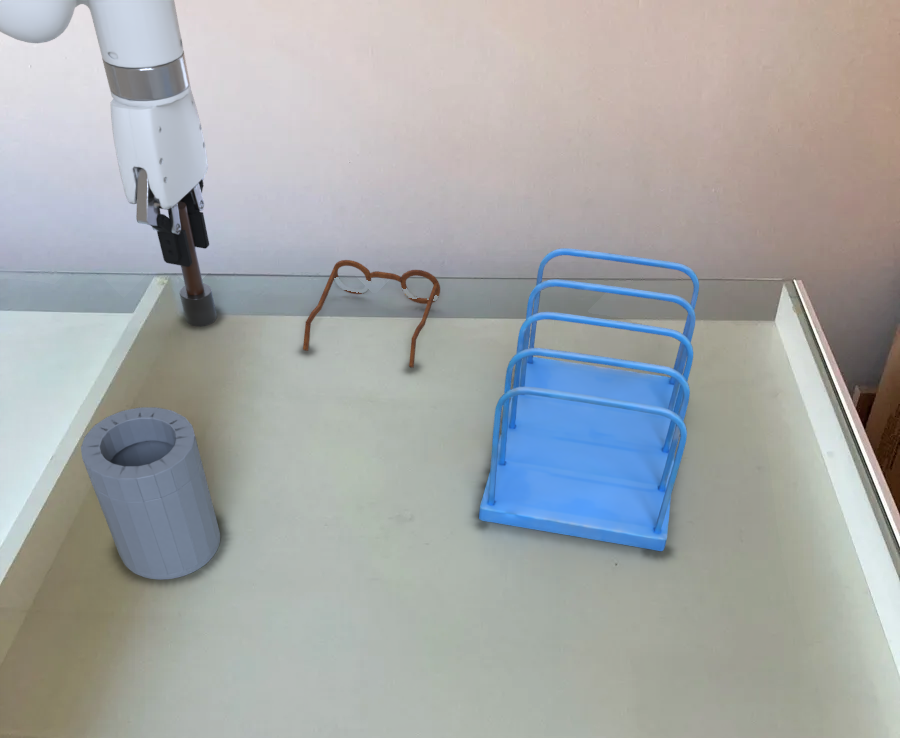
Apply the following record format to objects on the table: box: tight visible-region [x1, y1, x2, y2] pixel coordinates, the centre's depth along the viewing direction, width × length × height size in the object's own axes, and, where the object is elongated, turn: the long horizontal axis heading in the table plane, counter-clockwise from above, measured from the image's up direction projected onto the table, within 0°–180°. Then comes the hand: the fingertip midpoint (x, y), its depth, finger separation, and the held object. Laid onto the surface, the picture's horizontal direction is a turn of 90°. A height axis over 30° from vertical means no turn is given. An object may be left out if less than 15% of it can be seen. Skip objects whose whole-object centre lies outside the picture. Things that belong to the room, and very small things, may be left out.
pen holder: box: [80, 406, 221, 580], centre depth 79 cm, size 9×9×12 cm
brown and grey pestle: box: [177, 202, 218, 327], centre depth 102 cm, size 4×4×14 cm
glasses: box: [302, 259, 441, 369], centre depth 104 cm, size 13×13×5 cm
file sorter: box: [478, 247, 700, 552], centre depth 86 cm, size 25×17×15 cm
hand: (187, 253), depth 101 cm, fingers open, 3 cm apart
